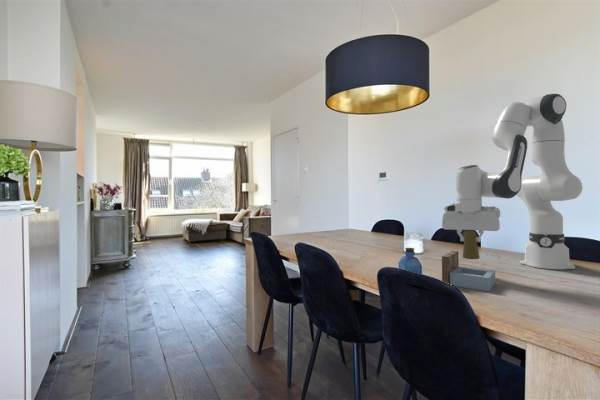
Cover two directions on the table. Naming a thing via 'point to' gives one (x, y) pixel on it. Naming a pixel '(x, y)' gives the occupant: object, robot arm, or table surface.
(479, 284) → the socket block
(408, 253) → the perfume bottle
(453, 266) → the wall
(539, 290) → the table surface
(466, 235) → the cork
